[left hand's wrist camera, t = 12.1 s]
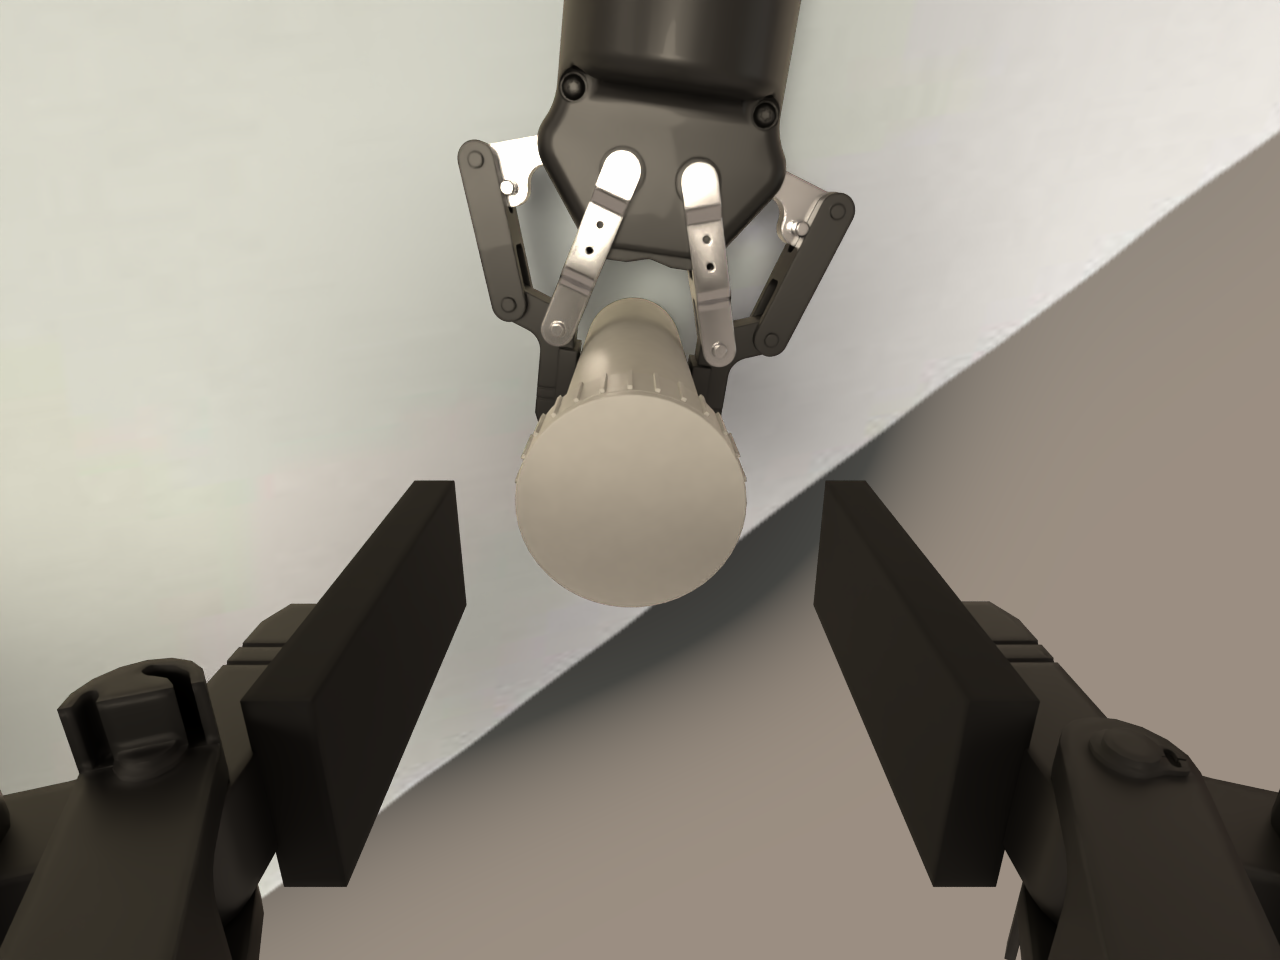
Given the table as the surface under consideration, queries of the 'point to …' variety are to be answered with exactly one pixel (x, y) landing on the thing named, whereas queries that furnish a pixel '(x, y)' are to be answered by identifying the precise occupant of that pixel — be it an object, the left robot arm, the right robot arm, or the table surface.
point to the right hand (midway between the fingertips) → (624, 443)
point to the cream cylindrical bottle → (633, 344)
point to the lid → (630, 491)
